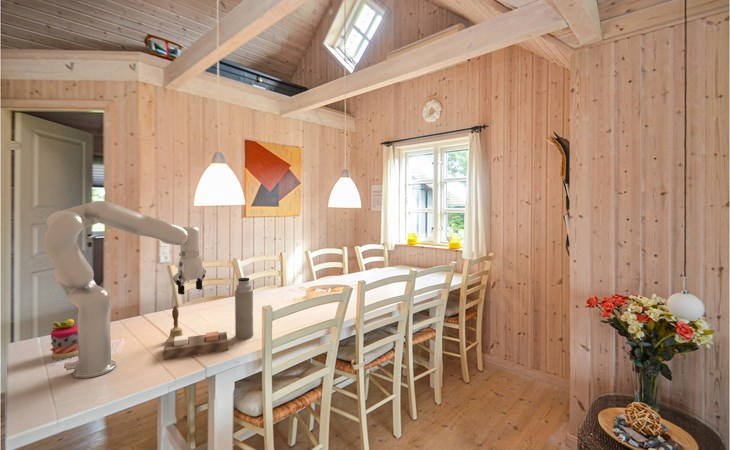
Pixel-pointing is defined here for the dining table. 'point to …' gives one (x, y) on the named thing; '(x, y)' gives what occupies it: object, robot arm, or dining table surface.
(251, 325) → the thermos bottle
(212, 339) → the terracotta key
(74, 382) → the dining table surface
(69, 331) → the cake
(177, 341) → the white key
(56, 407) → the dining table surface
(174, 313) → the hand bell
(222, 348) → the block
